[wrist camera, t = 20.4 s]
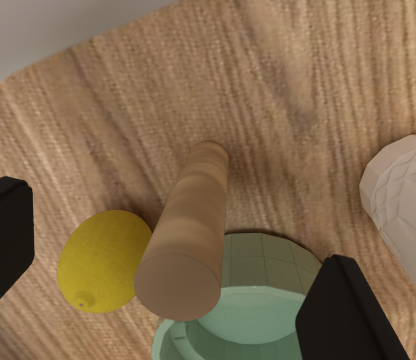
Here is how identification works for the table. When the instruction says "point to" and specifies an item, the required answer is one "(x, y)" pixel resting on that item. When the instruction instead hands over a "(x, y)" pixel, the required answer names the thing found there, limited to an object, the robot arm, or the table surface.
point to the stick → (188, 241)
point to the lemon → (102, 261)
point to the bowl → (246, 305)
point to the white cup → (394, 200)
